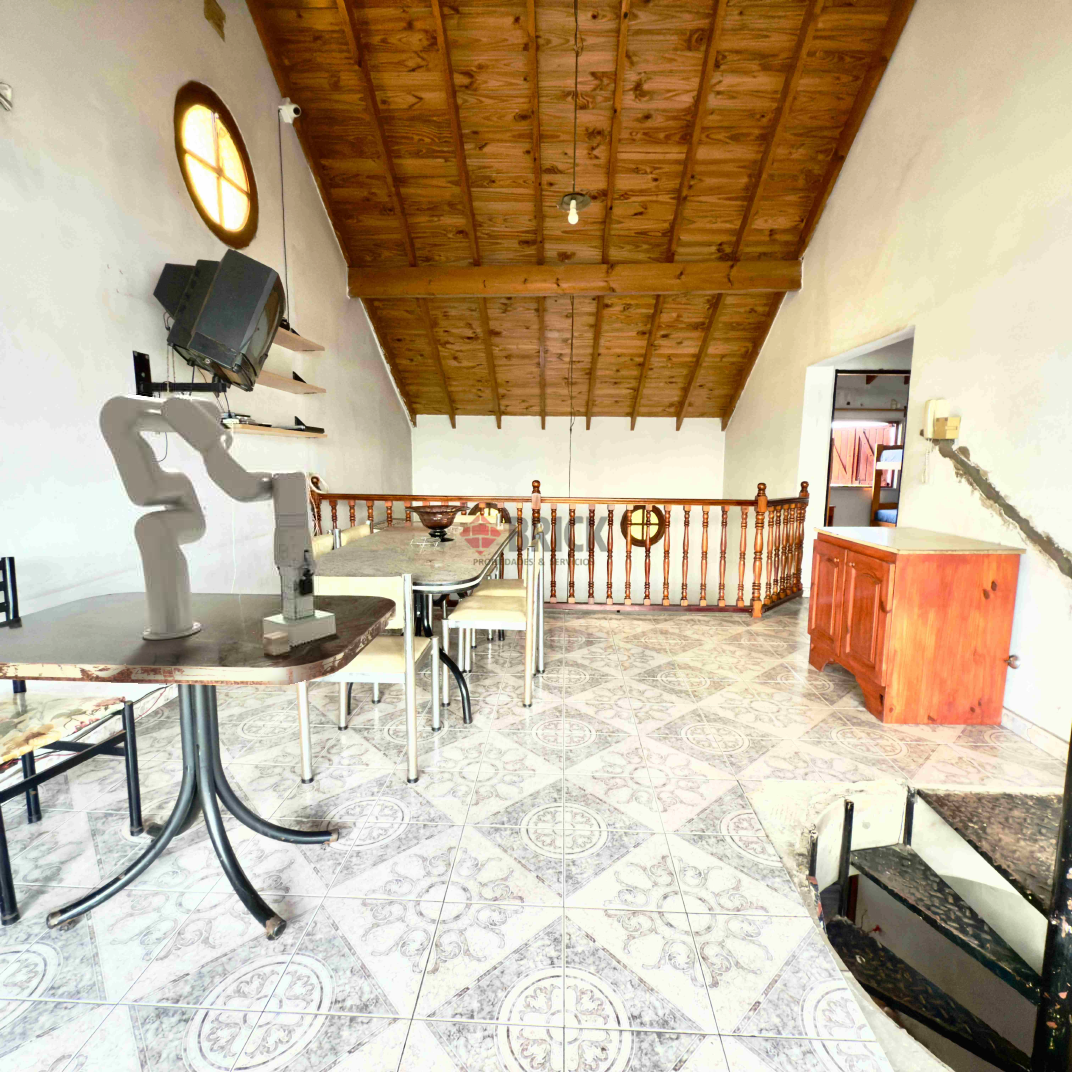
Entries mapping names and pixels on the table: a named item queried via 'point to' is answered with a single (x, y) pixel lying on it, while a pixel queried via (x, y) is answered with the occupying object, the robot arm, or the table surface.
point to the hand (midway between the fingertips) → (297, 592)
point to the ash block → (276, 643)
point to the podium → (301, 626)
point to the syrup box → (295, 595)
